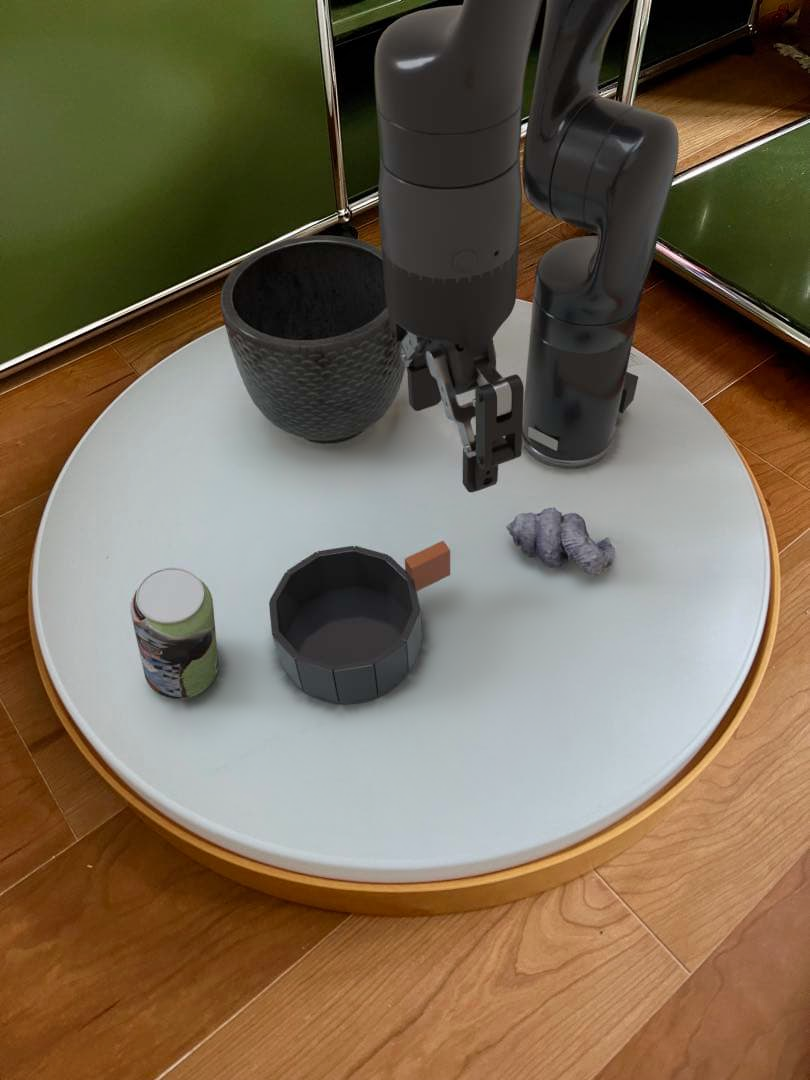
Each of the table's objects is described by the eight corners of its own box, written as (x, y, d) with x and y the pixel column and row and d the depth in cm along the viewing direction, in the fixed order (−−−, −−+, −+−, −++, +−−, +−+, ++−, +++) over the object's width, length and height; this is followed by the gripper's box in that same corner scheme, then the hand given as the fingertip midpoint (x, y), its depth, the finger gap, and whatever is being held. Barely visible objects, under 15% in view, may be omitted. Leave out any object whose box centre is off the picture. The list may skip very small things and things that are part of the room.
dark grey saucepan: (393, 542, 83) (389, 492, 78) (480, 624, 77) (483, 576, 72) (253, 635, 77) (238, 588, 72) (335, 732, 71) (326, 688, 66)
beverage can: (152, 645, 77) (111, 561, 68) (237, 638, 77) (208, 552, 68) (145, 711, 73) (101, 630, 64) (235, 702, 73) (204, 621, 64)
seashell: (612, 573, 82) (506, 550, 84) (624, 516, 80) (516, 495, 83) (608, 588, 77) (494, 563, 79) (620, 527, 75) (505, 504, 78)
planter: (299, 346, 102) (278, 219, 89) (438, 385, 97) (436, 256, 84) (218, 446, 92) (182, 319, 80) (368, 495, 87) (354, 368, 75)
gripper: (578, 283, 45) (551, 495, 58) (454, 154, 53) (455, 365, 66) (444, 327, 43) (446, 535, 56) (337, 187, 52) (361, 396, 64)
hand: (451, 443), depth 61 cm, fingers open, 8 cm apart
